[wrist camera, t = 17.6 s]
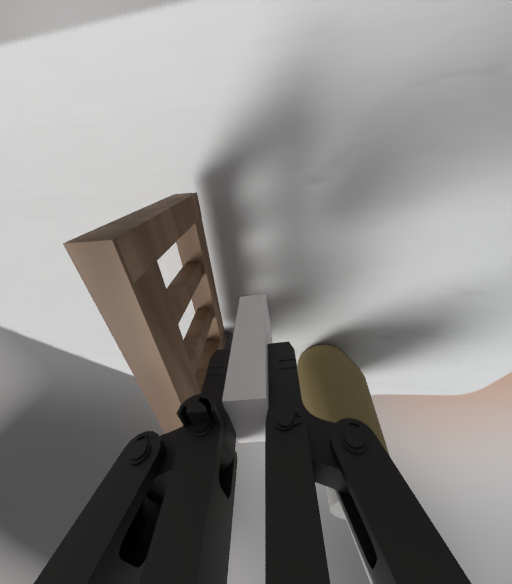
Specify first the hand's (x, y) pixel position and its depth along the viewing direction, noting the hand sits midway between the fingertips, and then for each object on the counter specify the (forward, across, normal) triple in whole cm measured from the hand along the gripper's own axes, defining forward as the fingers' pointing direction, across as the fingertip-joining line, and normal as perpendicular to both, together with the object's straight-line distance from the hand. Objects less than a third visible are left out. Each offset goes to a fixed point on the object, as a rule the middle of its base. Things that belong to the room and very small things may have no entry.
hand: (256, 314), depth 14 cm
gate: (+8, +5, +1) cm, 9 cm away
